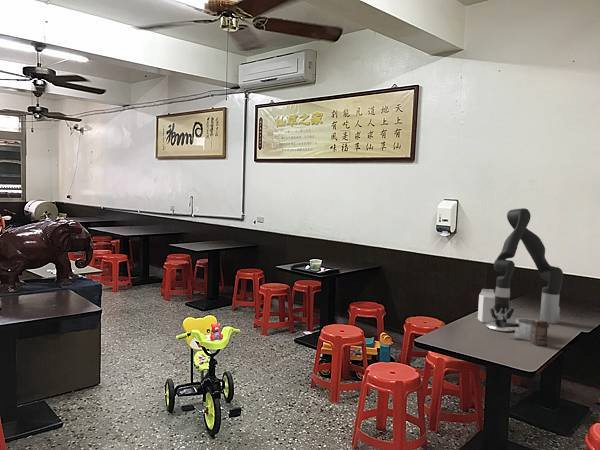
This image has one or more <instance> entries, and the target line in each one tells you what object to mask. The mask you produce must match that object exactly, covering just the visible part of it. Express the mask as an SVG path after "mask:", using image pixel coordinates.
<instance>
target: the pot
mask: <svg viewBox="0 0 600 450" xmlns="http://www.w3.org/2000/svg"><path fill="white" fill-rule="evenodd" d="M532 320H535V319H534V318H526V317H523V318H521V317H520V318H516V319H515V322H506V323H502V326H503V327H515V330H514V337H515V338H516V337H517V338H518V339H521V340H525V341H531V335H532ZM549 327H550V323H548V328H549Z"/></svg>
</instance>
